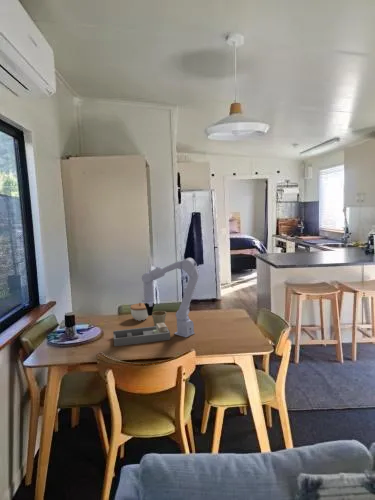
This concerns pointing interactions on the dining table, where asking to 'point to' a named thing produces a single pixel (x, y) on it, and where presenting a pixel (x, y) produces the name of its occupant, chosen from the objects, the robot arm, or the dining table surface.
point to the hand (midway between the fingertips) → (149, 315)
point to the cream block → (161, 327)
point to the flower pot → (158, 317)
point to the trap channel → (144, 336)
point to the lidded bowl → (139, 311)
